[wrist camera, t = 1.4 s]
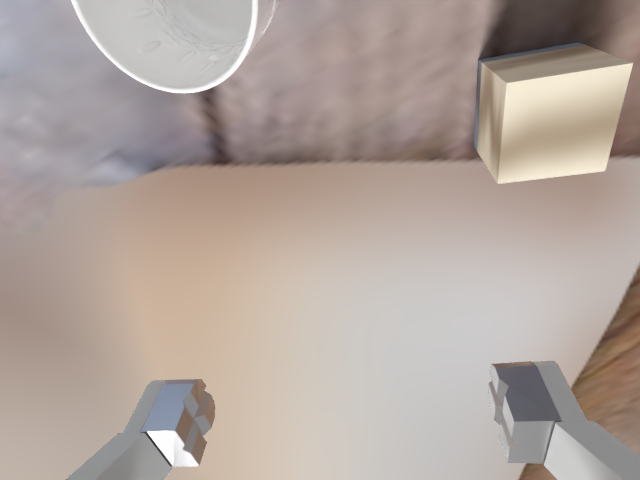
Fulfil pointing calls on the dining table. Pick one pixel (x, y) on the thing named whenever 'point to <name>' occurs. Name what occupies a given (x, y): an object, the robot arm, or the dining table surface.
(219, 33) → the white cup
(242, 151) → the dining table surface
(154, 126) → the dining table surface
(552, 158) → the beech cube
